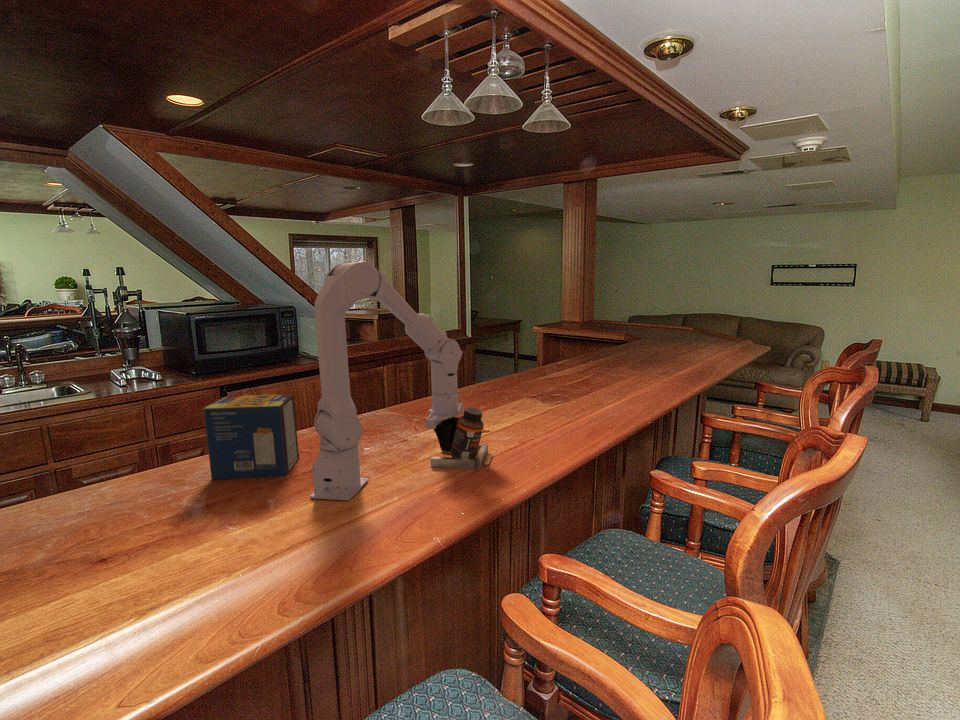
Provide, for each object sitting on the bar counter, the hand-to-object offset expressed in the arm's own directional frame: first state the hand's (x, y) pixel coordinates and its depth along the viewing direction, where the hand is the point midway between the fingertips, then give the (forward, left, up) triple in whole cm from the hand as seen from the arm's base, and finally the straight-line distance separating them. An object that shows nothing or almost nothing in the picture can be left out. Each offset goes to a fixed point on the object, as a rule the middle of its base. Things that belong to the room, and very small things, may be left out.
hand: (446, 450), depth 112 cm
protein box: (-11, +40, -2) cm, 41 cm away
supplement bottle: (-1, -4, -1) cm, 4 cm away
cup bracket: (0, -3, -2) cm, 4 cm away
